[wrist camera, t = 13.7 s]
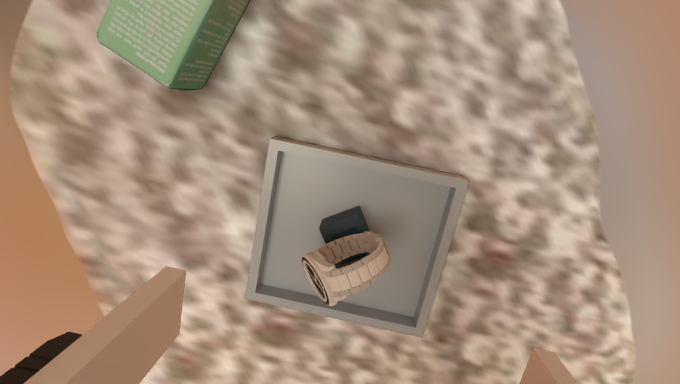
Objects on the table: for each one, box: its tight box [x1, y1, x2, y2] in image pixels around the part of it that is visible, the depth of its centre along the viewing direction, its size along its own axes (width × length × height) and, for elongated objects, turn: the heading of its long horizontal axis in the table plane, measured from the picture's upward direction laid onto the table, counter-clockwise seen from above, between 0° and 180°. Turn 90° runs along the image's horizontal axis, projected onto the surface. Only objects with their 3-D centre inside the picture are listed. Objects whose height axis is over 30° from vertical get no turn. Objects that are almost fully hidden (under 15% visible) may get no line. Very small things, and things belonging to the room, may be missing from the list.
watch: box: [301, 206, 391, 306], centre depth 35 cm, size 6×8×11 cm
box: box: [97, 0, 249, 90], centre depth 33 cm, size 7×14×8 cm, turn 147°
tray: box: [245, 136, 469, 338], centre depth 40 cm, size 18×20×2 cm
